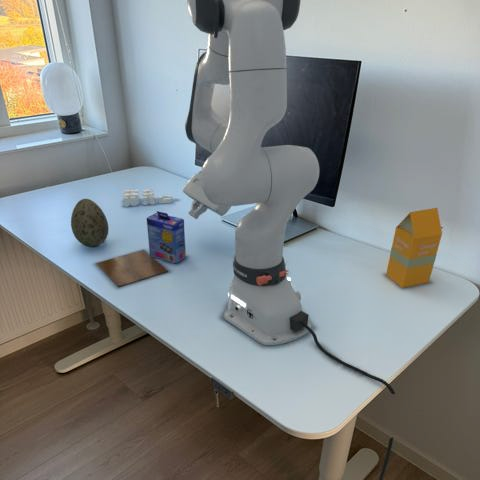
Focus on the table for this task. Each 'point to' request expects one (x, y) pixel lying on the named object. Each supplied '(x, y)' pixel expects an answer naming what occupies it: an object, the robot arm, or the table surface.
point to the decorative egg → (89, 223)
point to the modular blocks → (148, 198)
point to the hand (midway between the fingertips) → (192, 216)
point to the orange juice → (415, 248)
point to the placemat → (131, 268)
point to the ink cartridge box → (166, 237)
